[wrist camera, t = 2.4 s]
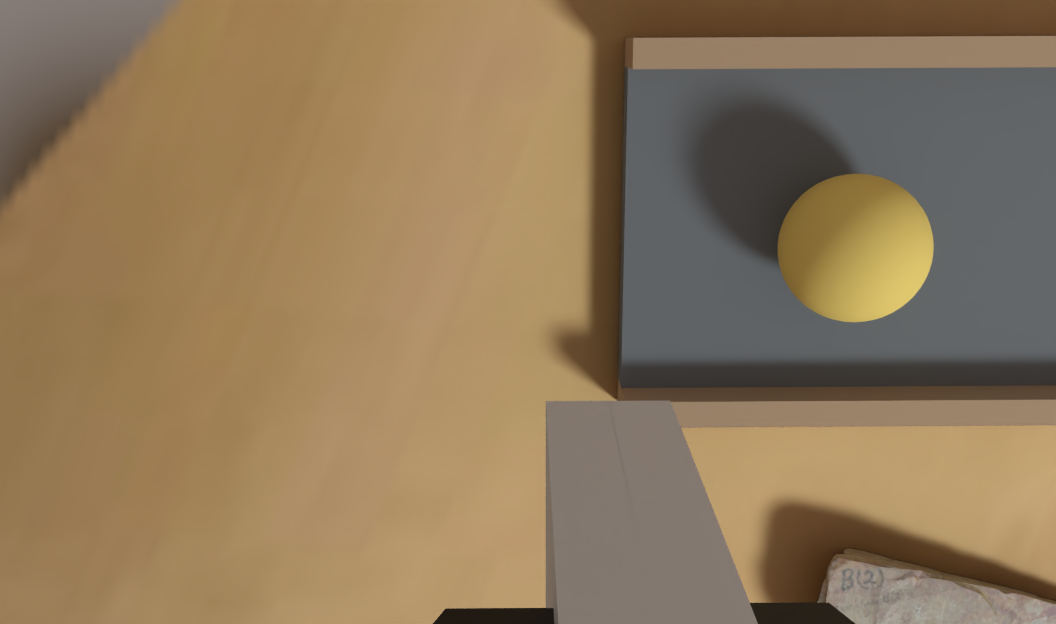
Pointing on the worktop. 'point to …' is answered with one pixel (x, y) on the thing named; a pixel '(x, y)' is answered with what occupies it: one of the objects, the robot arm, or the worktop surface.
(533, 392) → the worktop surface
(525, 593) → the worktop surface
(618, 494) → the robot arm
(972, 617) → the stone
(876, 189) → the ball
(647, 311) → the lane
